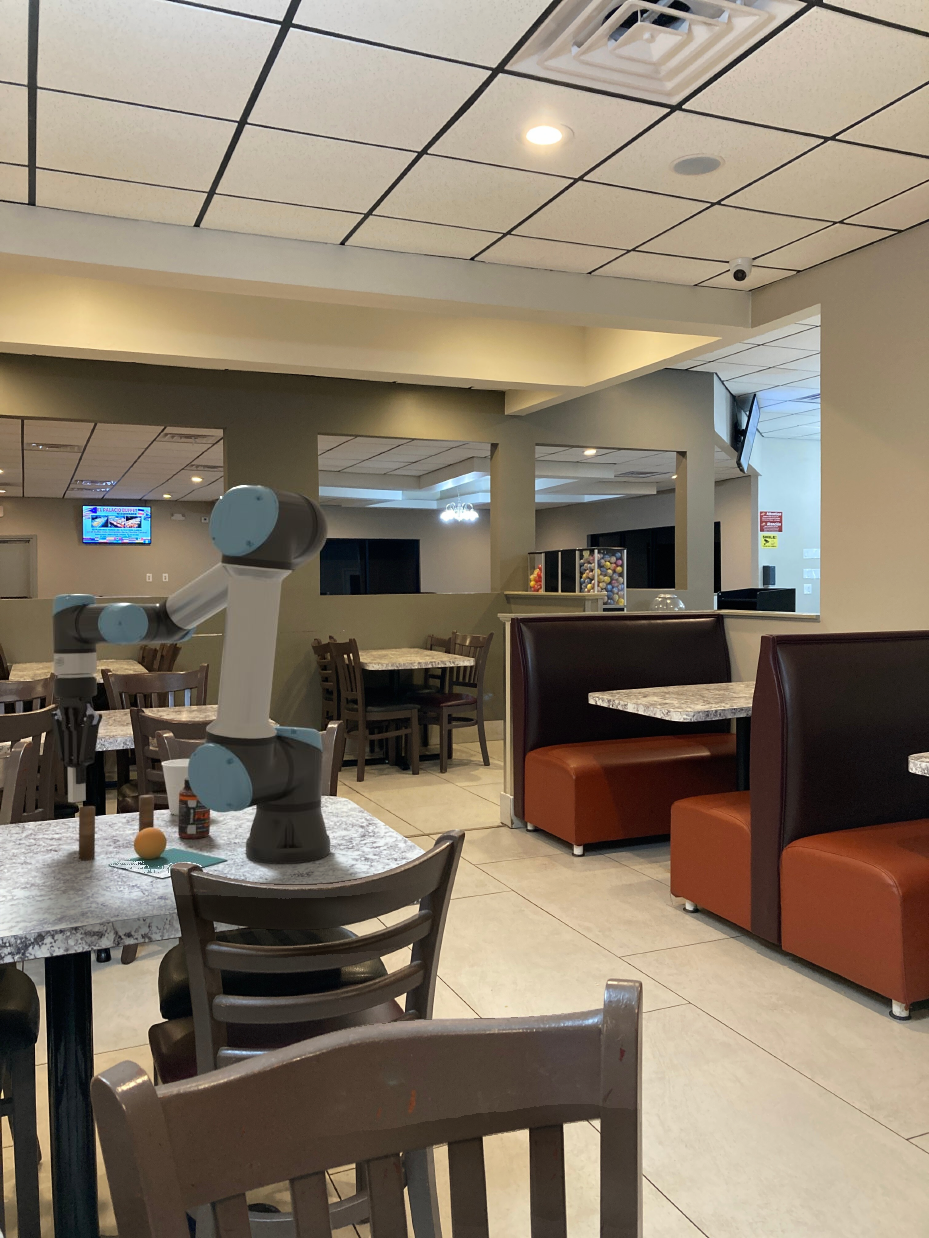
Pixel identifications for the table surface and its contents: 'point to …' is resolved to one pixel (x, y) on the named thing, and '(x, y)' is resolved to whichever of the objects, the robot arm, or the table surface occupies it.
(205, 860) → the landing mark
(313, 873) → the table surface
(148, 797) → the post right
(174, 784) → the cup
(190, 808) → the supplement bottle
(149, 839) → the ball
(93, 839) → the post left
